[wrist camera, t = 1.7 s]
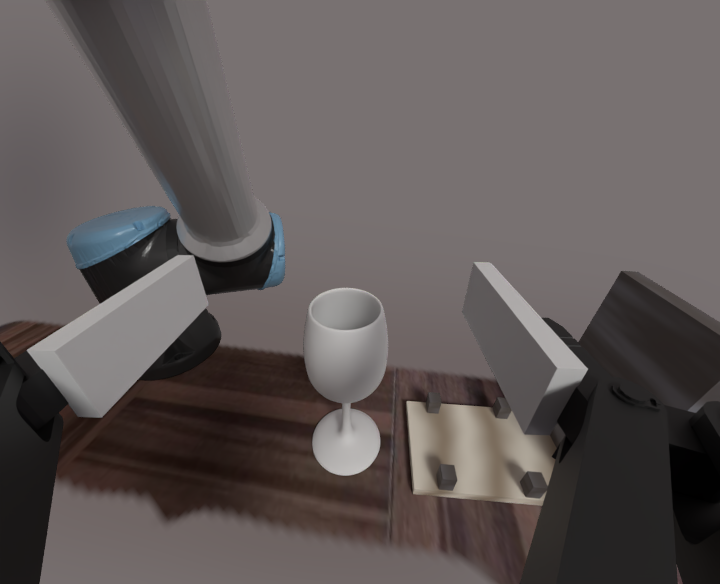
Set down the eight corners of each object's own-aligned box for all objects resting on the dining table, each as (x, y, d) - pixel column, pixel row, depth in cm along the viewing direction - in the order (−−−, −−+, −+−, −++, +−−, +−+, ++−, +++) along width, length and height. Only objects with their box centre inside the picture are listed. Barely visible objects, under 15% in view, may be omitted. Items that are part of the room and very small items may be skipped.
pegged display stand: (412, 494, 31) (457, 335, 18) (405, 406, 40) (432, 261, 27) (595, 510, 30) (774, 355, 17) (544, 416, 39) (637, 271, 27)
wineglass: (392, 432, 37) (412, 301, 25) (353, 493, 31) (357, 357, 19) (341, 398, 41) (338, 273, 29) (297, 446, 35) (273, 312, 23)
